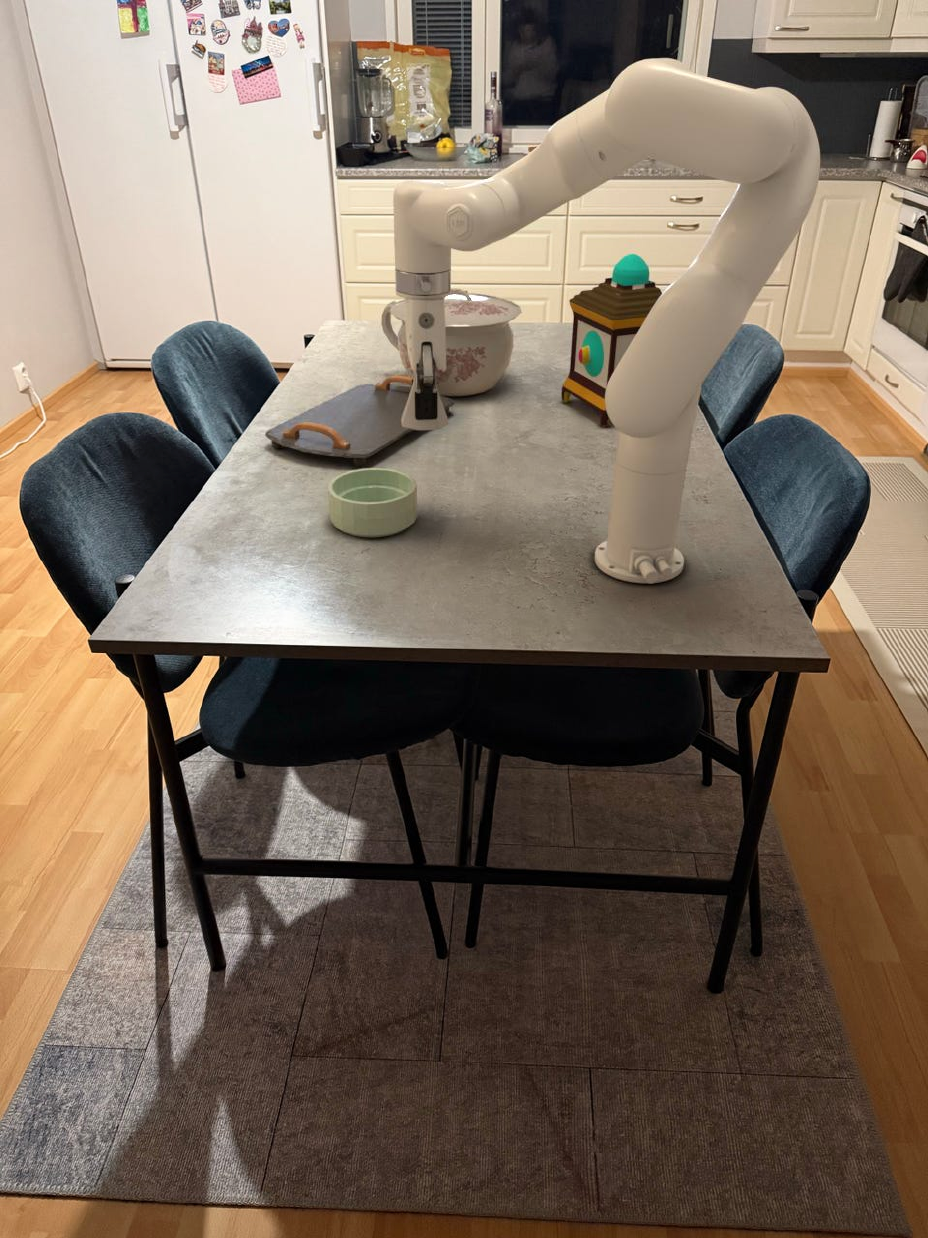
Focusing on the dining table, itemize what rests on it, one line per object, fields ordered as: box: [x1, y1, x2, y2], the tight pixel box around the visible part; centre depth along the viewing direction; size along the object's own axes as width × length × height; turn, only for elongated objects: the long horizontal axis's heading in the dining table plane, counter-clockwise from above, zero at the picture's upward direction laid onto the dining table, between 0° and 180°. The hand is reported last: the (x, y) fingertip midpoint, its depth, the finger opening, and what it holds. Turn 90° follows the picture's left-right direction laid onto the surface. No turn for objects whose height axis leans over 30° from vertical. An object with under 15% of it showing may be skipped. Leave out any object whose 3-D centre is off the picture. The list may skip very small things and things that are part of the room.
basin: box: [327, 467, 418, 538], centre depth 139 cm, size 13×13×6 cm
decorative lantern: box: [560, 253, 663, 428], centre depth 177 cm, size 20×20×30 cm
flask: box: [401, 366, 450, 431], centre depth 130 cm, size 7×7×10 cm
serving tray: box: [264, 375, 456, 469], centre depth 173 cm, size 39×23×6 cm, turn 152°
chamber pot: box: [380, 287, 522, 398], centre depth 191 cm, size 28×28×21 cm
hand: (424, 410), depth 132 cm, fingers closed on flask, 4 cm apart
